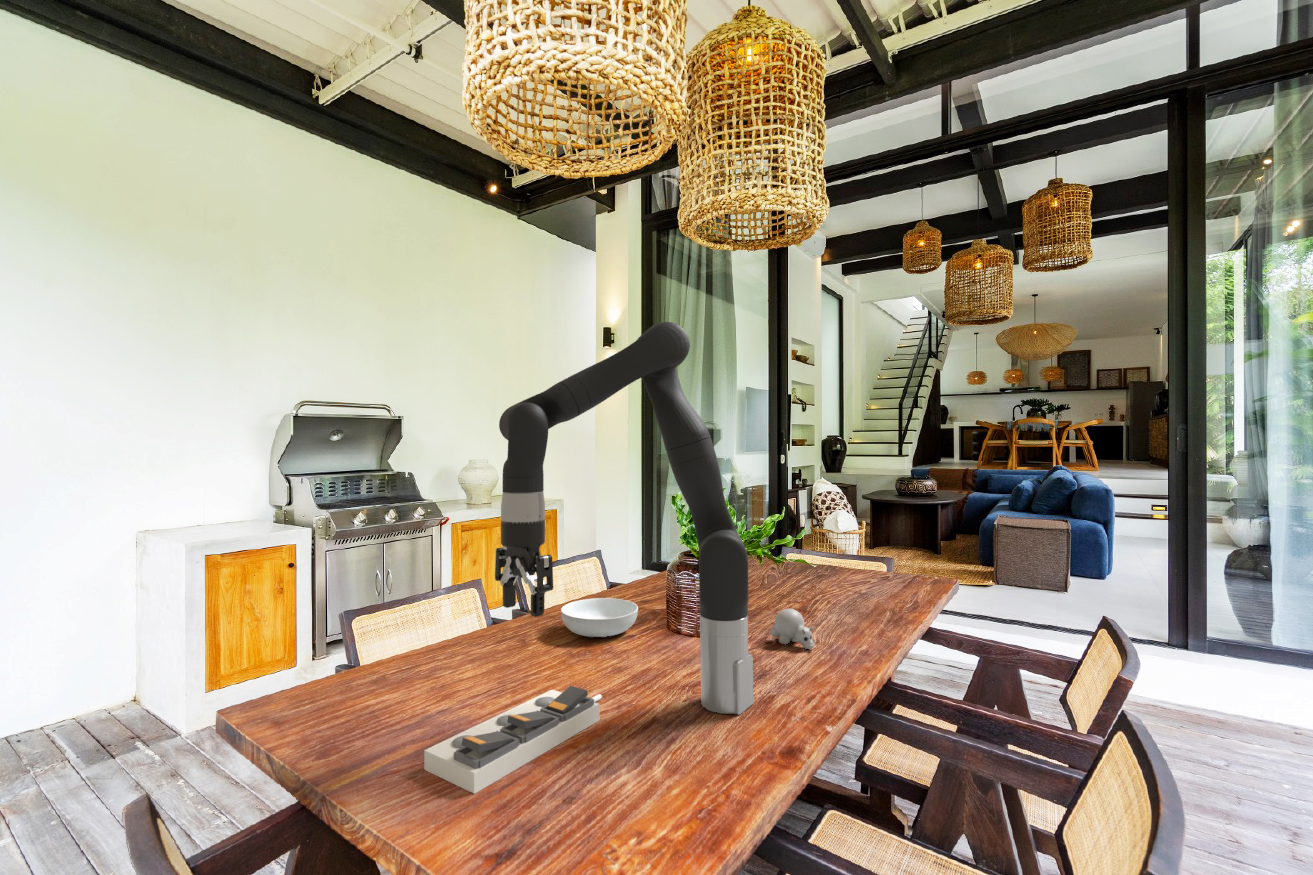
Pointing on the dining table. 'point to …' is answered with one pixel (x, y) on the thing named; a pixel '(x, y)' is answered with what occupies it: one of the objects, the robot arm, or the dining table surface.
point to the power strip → (526, 744)
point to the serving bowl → (599, 616)
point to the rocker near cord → (567, 700)
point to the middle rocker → (529, 719)
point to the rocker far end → (486, 741)
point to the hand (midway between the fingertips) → (522, 611)
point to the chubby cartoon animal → (792, 629)
